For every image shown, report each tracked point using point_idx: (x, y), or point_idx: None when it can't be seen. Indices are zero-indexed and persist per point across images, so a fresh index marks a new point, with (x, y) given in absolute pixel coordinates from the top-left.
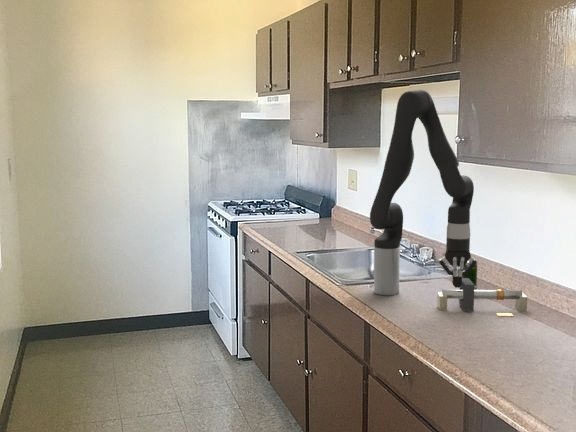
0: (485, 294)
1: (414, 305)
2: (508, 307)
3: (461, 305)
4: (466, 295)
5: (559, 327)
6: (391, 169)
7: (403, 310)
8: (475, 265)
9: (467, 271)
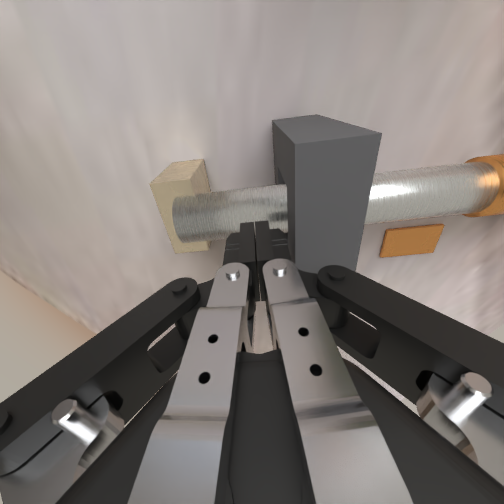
0: (401, 220)
1: (70, 160)
2: (496, 126)
3: (276, 184)
4: None
5: (495, 309)
6: None
7: (62, 234)
8: None
9: (348, 335)
